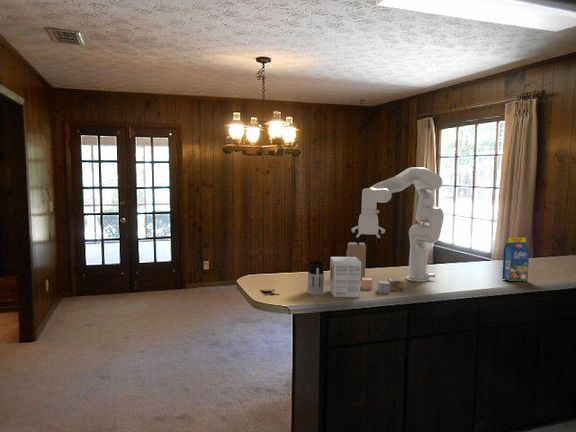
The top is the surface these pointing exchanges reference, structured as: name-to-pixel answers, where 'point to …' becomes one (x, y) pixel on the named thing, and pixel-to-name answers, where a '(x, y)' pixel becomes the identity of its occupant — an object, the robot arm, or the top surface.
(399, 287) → the walnut base block
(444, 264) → the top surface
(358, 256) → the block
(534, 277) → the top surface
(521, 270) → the blue food package
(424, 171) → the robot arm
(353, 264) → the supplement box
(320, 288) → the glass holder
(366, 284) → the terracotta cube
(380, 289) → the slate grey cube
